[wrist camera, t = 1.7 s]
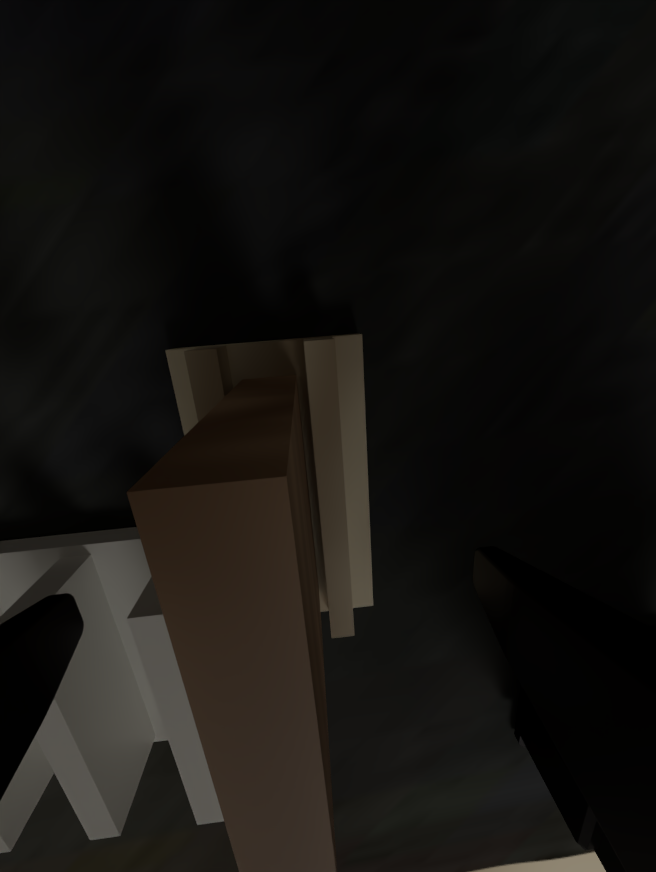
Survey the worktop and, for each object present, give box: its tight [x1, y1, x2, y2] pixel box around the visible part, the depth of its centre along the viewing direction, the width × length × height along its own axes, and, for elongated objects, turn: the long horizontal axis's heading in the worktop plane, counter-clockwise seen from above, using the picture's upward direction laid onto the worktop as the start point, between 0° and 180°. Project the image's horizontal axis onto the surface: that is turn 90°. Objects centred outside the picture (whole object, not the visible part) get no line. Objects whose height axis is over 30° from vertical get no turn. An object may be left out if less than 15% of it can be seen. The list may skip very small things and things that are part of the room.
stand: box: [165, 333, 373, 638], centre depth 11 cm, size 6×10×2 cm, turn 4°
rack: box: [0, 527, 224, 853], centre depth 12 cm, size 12×10×4 cm
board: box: [127, 375, 337, 872], centre depth 8 cm, size 2×8×7 cm, turn 4°
